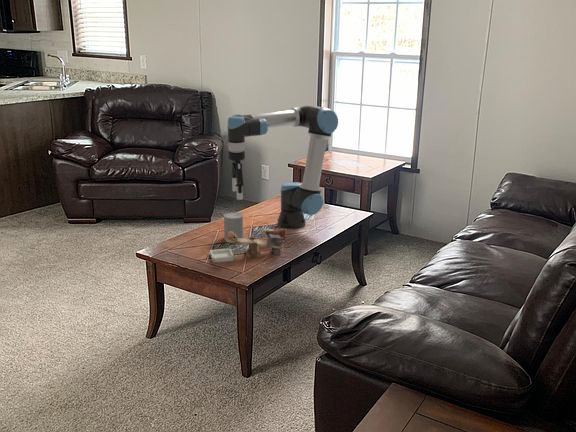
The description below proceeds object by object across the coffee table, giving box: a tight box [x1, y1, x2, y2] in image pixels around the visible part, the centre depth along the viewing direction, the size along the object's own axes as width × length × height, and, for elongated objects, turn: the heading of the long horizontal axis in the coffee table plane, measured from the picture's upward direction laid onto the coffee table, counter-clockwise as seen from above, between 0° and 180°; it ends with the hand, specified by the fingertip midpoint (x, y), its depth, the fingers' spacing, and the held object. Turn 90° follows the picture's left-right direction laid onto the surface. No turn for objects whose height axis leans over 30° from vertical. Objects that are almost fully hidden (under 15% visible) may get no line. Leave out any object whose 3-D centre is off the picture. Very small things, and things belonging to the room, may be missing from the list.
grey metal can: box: [223, 211, 244, 241], centre depth 294 cm, size 10×10×12 cm
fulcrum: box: [244, 236, 262, 259], centre depth 275 cm, size 6×8×7 cm
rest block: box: [271, 248, 282, 256], centre depth 278 cm, size 3×6×2 cm, turn 16°
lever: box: [224, 233, 282, 249], centre depth 273 cm, size 26×6×5 cm, turn 106°
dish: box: [209, 248, 235, 264], centre depth 272 cm, size 10×11×2 cm
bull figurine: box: [259, 227, 287, 244], centre depth 289 cm, size 4×13×8 cm, turn 113°
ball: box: [227, 231, 235, 238], centre depth 270 cm, size 4×4×4 cm
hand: (237, 195), depth 275 cm, fingers open, 13 cm apart
